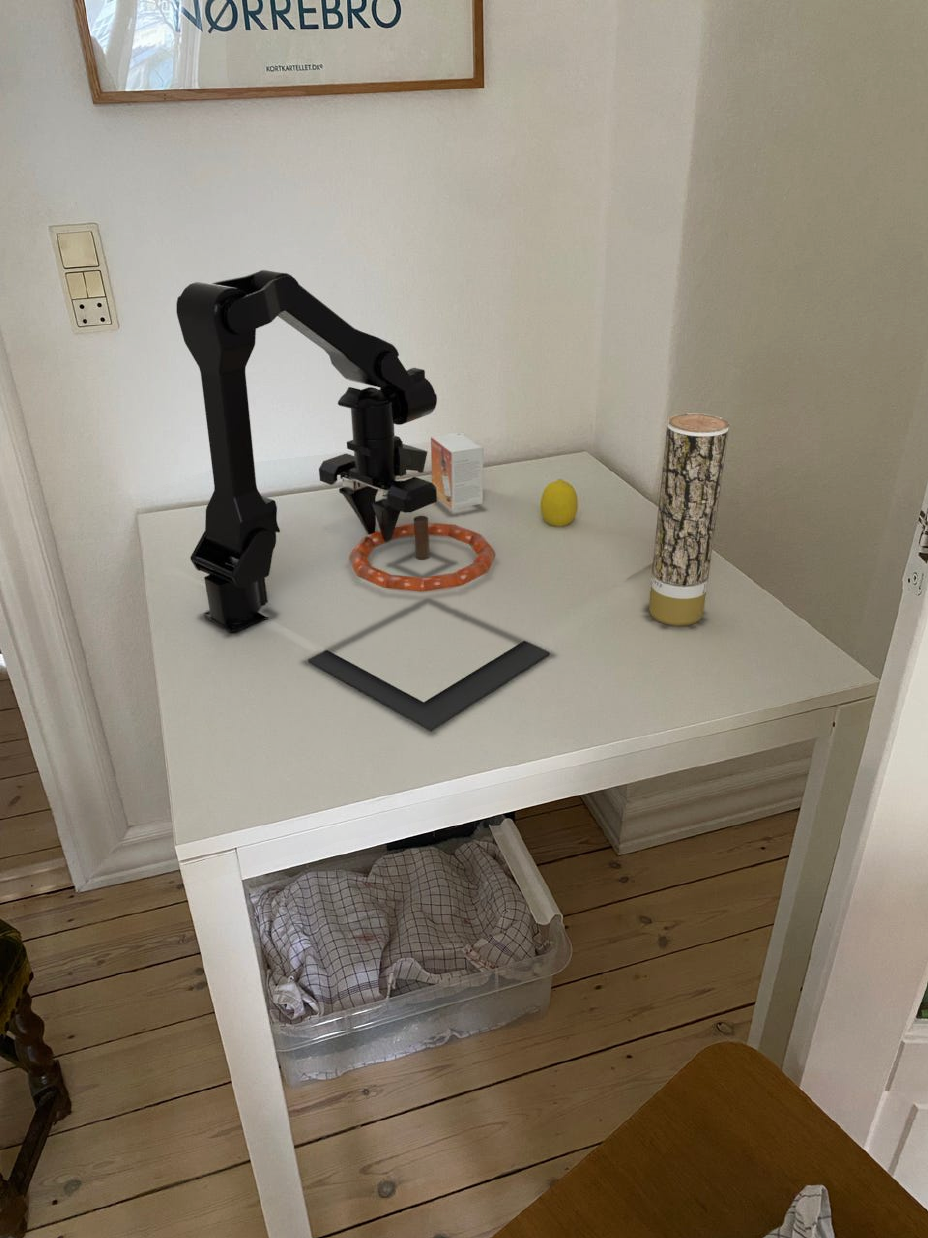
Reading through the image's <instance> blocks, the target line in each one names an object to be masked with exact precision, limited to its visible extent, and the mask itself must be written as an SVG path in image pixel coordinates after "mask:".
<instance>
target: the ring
mask: <svg viewBox="0 0 928 1238" xmlns="http://www.w3.org/2000/svg"><path fill="white" fill-rule="evenodd" d="M428 524H429V535H431V536H445V537H450V538H453V539H455V540H458V541H461V542H462V543H465V544H468V545H469V546H470V547H471V548H472V550H473V551H474V553H475V554H476V556H475V559H474V561H473V563H470V564H468V565H466V566H465V567H462V568H461V569H459V570H457V571H455V572H451V573H450V572H449V573H445V574H437V575H430V576H424V577H420V576H409V575H398V574H390V573H389V572H387V571H384V570H381V569H379V568H377V567H374V566H373V565H371V562H370V560H369V558H368V557H369V556H370V555H371V554H372V552H373V551H374V549H375V547H378V546H380V545H381V544H384V543H386V541H384V539H383V537H382V534H381V531H380V529H379V530H376V531H375V532H374V533H372V534H370V535H369V534H367V535H365V536H362V538H361V539H360V540H359V542H358V543H357V544H356V545H355V547H354V548H353V550H352V551H351V552H350V554H349V555H348V560H349V562H350V564H351V566H352V569H353V571H354V573H355V575H356V576H357V577H359V578H361V579H363V580H364V581H365V580H366V581H368V582H370V583H372V584H374V585H376V586H379V587H381V588H383V589H392V590H393V589H394V590H400V591H401V590H402V591H411V592H430V591H436V590H442V589H449V588H455V587H461V586H464V585H465V584H467V583H469V582H471V581H473V580H476V579H478V578H479V577H481V576H483V575H485V574H488V573H489V571H490V569H491V567H492V564H493V562H494V560H495V557H496V551H495V549H494V548H493V547H492V546H491V544H490V543H489V542H488V541H487V540H486V539H485V537H484V536H483V535H482V534H481V533H479V532H476V531H474V530H471V529H468V528H465V527H462V526H460V525H458V524H452V523H441V522H430V521H428ZM408 536H409V537H410V536H414V522H410V523H402V524H396V526H395V529H394V532H393V536H392V539H391V540H394V539H396V538H402V537H408Z"/></svg>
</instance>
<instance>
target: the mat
mask: <svg viewBox="0 0 928 1238" xmlns="http://www.w3.org/2000/svg"><path fill="white" fill-rule="evenodd" d="M549 656H550V651H548V650H546V649H543V648H542V647H539V646H537V645H534V644H533V643H530V642H528V641H526V640H523V641H521V642H520V643H518V644H517V645H515V646H513V647H511V648H510V649H508V650H507V651H504V652H503V653H502V654H500V655H498V656H497V657H495V658H493V659H492V660H490V661H489V662H487V663H485V664H484V665H482V666H480V667H479V668H477V669H475V670H474V671H472V672H470V673H469V674H467V675H466V676H464V677H462V678H461V679H459V680H458V681H456V682H454V683H452V684H450V685H449V686H447V687H446V688H445V689H443V690H441V691H439V692H438V693H436V694H435V695H433V696H431V697H430V698H428V699H426V700H425V701H422V700H421V699H419V698H418V697H415V696H414V695H411V694H410V693H407V692H406V691H404V690H402V689H400V688H398V687H397V686H395V685H393V684H391V683H390V682H387V681H385V680H384V679H382V678H381V677H378V676H376V675H374V674H373V673H371V672H369V671H367V670H365V669H364V668H361V667H360V666H358V665H355V664H354V663H353V662H350V661H348V660H347V659H344V658H343V657H341V656H339V655H337V654H336V653H334V652H332V651H330V650H328V649H326V650H324V651H322V652H320V653H318V654H316V655H314V656H312V657H310V658H309V659H308V661H307V662H308V663H309V664H311V665H313V666H314V667H316V668H318V669H320V670H321V671H323V672H325V673H327V674H328V675H330V676H332V677H334V678H336V679H337V680H339V681H341V682H342V683H345V684H346V685H348V686H350V687H351V688H353V689H355V690H357V691H358V692H361V693H363V694H364V695H366V696H367V697H369V698H371V699H373V700H374V701H377V702H378V703H380V704H381V705H383V706H385V707H387V708H389V709H390V710H393V711H394V712H396V713H398V714H399V715H401V716H403V717H405V718H407V719H408V720H410V721H412V722H413V723H416V724H417V725H419V726H420V727H423V728H425V729H426V730H427V731H430V732H433V731H434V730H435V729H437V728H439V727H440V726H442V725H443V724H444V723H446V722H448V721H450V720H451V719H453V718H454V717H455V716H457V715H459V714H460V713H462V712H463V711H465V710H466V709H467V708H470V707H471V706H473V705H474V704H476V703H477V702H479V701H480V700H482V699H484V698H485V697H487V696H488V695H490V694H491V693H493V692H494V691H496V690H497V689H499V688H500V687H502V686H504V685H505V684H506V683H508V682H510V681H512V680H513V679H514V678H516V677H518V676H519V675H521V674H522V673H524V672H526V671H527V670H528V669H530V668H531V667H533V666H535V665H536V664H538V663H539V662H541V661H543V660H544V659H546V658H547V657H549Z"/></svg>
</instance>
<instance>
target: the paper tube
mask: <svg viewBox="0 0 928 1238" xmlns="http://www.w3.org/2000/svg"><path fill="white" fill-rule="evenodd" d="M729 426H730V423H729V421H728V420H727V419H725V418H723V417H720V416H717V415H714V414H708V413H699V412H698V413H697V412H693V413H692V412H690V413H679V414H675V415H672V416H670V417H668V419H667V424H666V432H665V441H664V451H663V461H662V462H663V463H662V471H661V472H662V473H661V479H660V490H659V499H658V501H659V502H658V510H657V511H658V512H657V519H656V520H657V521H656V529H655V530H656V531H655V537H654V538H655V540H654V549H653V557H652V567H651V568H652V569H651V579H650V591H649V598H648V599H649V600H648V612H649V614H650V615H651V617H652V618H653V619H654V620H656V621H658V622H659V623H662V624H664V625H668V626H672V627H686V626H690V625H693V624H696V623H697V622H699V621H700V620H701V619H702V618H703V615H704V610H705V603H706V595H707V590H708V582H709V575H710V568H711V563H712V554H713V546H714V538H715V531H716V525H717V518H718V512H719V511H718V510H719V503H720V496H721V488H722V481H723V473H724V466H725V459H726V452H727V445H728V439H729V431H730V428H729Z"/></svg>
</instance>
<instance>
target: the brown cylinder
mask: <svg viewBox="0 0 928 1238" xmlns="http://www.w3.org/2000/svg"><path fill="white" fill-rule="evenodd" d="M428 522H429V517H428V516H427V515H426V516H425V515H417V516H415V517H413V523H414V535H413V536H414V537H413V538H414V558H415V559H416V560H418V561H426V560H429V559H430V557H431V556H430V534H429V524H428Z"/></svg>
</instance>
